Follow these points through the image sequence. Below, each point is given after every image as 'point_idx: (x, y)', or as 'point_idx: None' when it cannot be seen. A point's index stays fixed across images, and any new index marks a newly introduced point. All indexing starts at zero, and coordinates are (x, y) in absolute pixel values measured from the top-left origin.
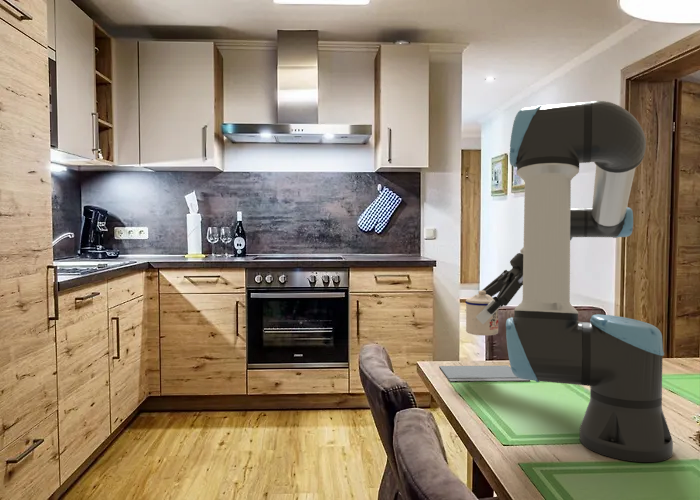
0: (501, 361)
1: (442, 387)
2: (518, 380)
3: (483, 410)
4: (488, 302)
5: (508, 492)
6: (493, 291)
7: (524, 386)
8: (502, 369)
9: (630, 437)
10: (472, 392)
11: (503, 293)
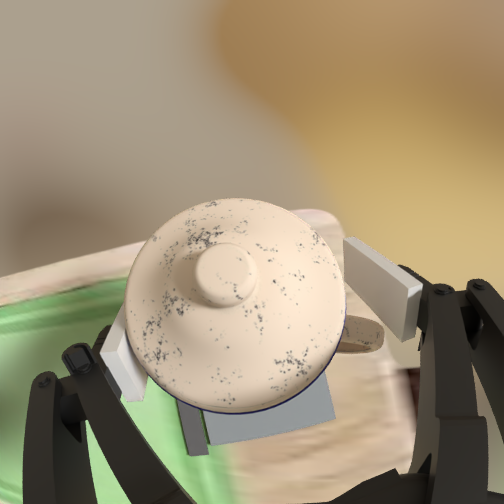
0: (391, 399)
1: (122, 257)
2: (183, 429)
3: (19, 317)
4: (127, 327)
5: None
6: (424, 373)
7: (145, 432)
8: (286, 404)
9: None
10: (92, 313)
11: (40, 411)
